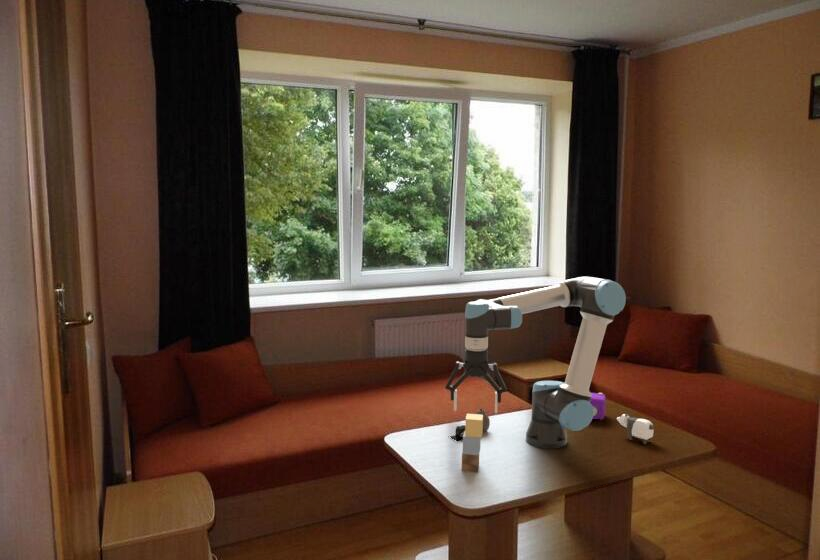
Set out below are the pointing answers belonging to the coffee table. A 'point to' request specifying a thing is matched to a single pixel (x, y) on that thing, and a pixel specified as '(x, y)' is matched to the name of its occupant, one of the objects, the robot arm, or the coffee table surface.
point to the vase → (484, 419)
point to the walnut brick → (470, 463)
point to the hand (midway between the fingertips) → (475, 410)
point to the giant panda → (637, 427)
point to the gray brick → (471, 445)
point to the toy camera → (598, 405)
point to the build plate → (459, 433)
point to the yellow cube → (474, 425)
